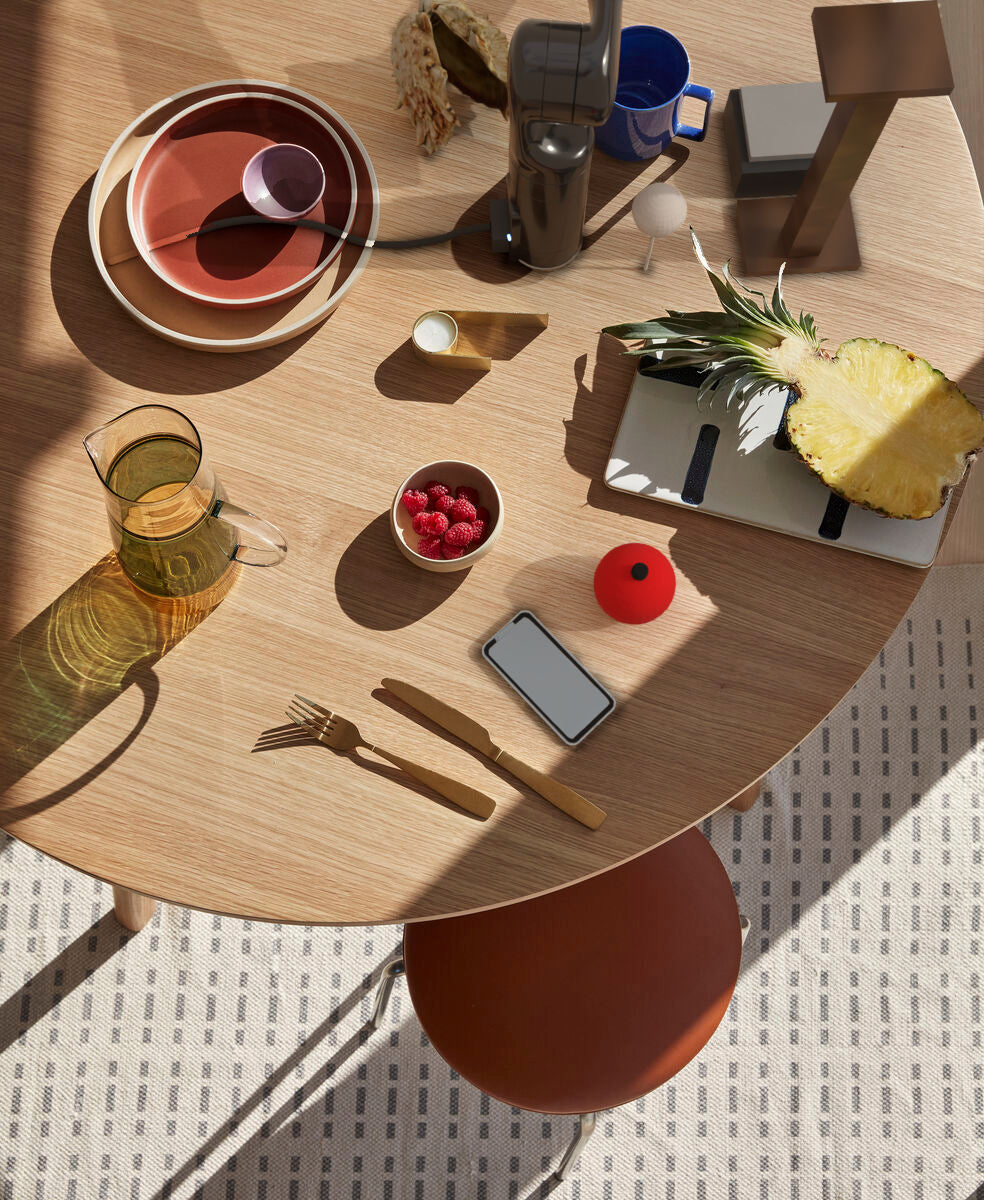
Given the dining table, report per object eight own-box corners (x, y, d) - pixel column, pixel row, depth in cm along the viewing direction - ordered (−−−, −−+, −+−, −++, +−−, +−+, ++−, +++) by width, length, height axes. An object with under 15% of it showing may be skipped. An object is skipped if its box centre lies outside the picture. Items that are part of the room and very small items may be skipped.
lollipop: (672, 249, 136) (692, 173, 121) (669, 292, 134) (689, 220, 120) (621, 245, 136) (636, 168, 121) (618, 288, 134) (632, 215, 120)
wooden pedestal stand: (744, 277, 135) (818, 95, 104) (734, 205, 137) (803, 7, 106) (858, 269, 135) (965, 86, 104) (846, 198, 137) (947, -2, 106)
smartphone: (571, 749, 120) (477, 650, 122) (571, 750, 120) (477, 652, 123) (620, 703, 121) (525, 606, 123) (619, 704, 122) (525, 607, 124)
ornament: (659, 642, 123) (672, 621, 114) (581, 620, 124) (588, 598, 114) (677, 567, 125) (692, 541, 116) (601, 547, 126) (609, 519, 116)
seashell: (436, 86, 120) (556, 50, 124) (367, -28, 125) (485, -58, 129) (427, 199, 137) (533, 165, 141) (366, 95, 142) (470, 65, 146)
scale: (733, 198, 138) (744, 168, 132) (722, 116, 141) (731, 83, 135) (845, 191, 138) (860, 161, 132) (831, 109, 141) (845, 76, 135)
